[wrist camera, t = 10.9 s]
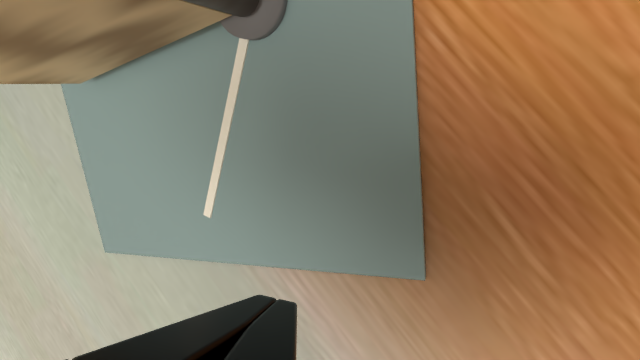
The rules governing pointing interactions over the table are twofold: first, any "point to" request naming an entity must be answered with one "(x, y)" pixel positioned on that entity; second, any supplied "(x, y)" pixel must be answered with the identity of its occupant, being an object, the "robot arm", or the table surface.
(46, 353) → the table surface
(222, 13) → the gate
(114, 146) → the board
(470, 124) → the table surface
